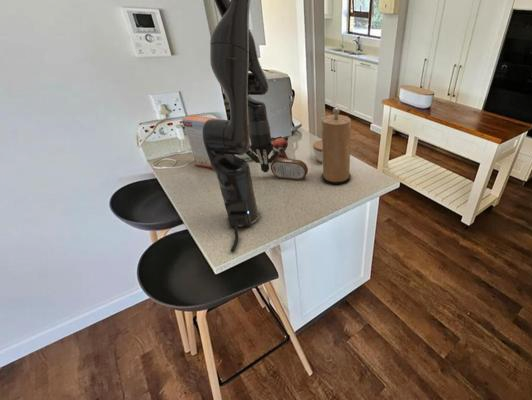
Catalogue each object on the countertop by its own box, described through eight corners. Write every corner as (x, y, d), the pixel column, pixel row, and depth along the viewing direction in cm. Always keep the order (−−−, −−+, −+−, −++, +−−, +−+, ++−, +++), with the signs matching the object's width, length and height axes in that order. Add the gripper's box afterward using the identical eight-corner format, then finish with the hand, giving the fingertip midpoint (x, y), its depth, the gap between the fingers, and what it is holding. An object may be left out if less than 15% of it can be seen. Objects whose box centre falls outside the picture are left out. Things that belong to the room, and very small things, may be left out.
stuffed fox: (287, 153, 135) (285, 129, 128) (292, 163, 127) (289, 138, 120) (271, 155, 133) (268, 131, 126) (275, 166, 124) (271, 140, 117)
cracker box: (232, 165, 123) (221, 118, 111) (223, 171, 118) (211, 123, 106) (205, 159, 126) (192, 113, 114) (195, 165, 121) (180, 118, 109)
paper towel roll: (351, 185, 114) (353, 112, 97) (321, 185, 113) (319, 112, 96) (349, 171, 124) (351, 103, 107) (322, 171, 123) (320, 102, 106)
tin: (308, 177, 117) (307, 159, 112) (306, 181, 115) (305, 163, 110) (273, 174, 118) (271, 156, 113) (271, 178, 116) (268, 159, 111)
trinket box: (322, 167, 125) (321, 147, 120) (309, 158, 132) (308, 139, 127) (341, 161, 131) (341, 142, 126) (327, 153, 138) (327, 134, 133)
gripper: (238, 134, 100) (246, 176, 110) (276, 134, 102) (281, 175, 111) (243, 126, 106) (251, 167, 116) (278, 127, 108) (283, 167, 118)
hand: (265, 171), depth 114 cm, fingers closed
